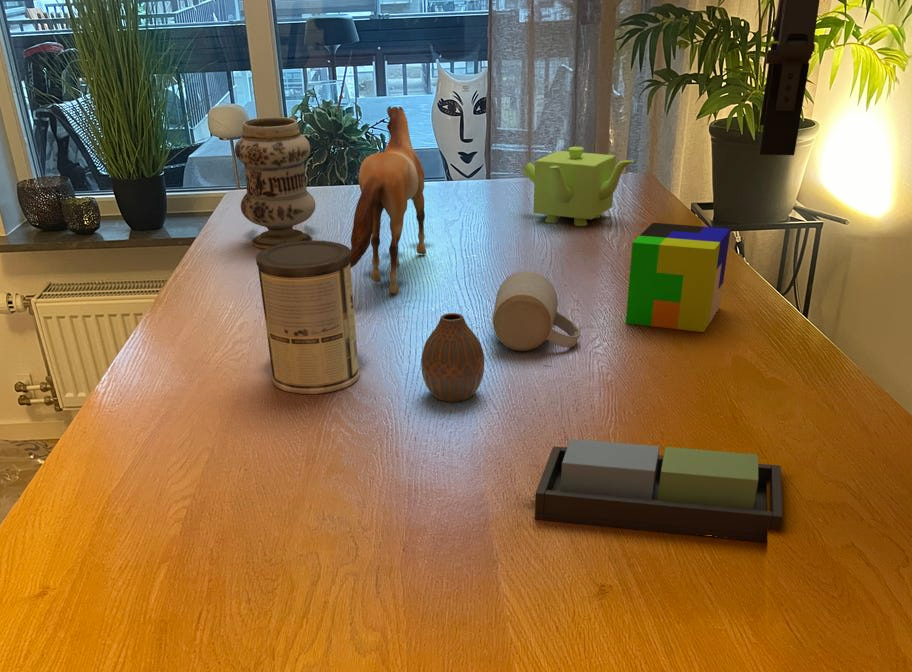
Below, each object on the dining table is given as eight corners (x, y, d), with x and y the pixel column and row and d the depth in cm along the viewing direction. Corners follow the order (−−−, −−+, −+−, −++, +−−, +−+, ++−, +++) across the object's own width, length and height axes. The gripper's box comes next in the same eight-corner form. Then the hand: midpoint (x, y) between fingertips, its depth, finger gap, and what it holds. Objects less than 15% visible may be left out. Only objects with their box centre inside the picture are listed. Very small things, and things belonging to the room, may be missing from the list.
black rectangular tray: (775, 491, 92) (781, 465, 90) (777, 544, 84) (782, 516, 83) (552, 470, 96) (553, 445, 95) (534, 519, 89) (535, 493, 87)
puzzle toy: (719, 307, 133) (730, 228, 127) (703, 332, 126) (714, 249, 120) (645, 300, 136) (652, 222, 130) (625, 323, 129) (632, 242, 123)
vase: (493, 387, 113) (494, 310, 108) (470, 411, 108) (469, 330, 103) (437, 379, 115) (435, 303, 110) (412, 402, 110) (408, 323, 105)
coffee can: (259, 372, 119) (242, 249, 111) (339, 355, 123) (329, 235, 114) (290, 401, 111) (274, 272, 103) (374, 383, 115) (366, 256, 107)
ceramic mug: (490, 353, 121) (492, 289, 117) (495, 330, 128) (497, 269, 123) (578, 357, 120) (583, 292, 116) (579, 333, 127) (584, 271, 122)
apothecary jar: (300, 254, 159) (287, 129, 149) (232, 250, 162) (215, 126, 152) (330, 234, 168) (320, 115, 158) (265, 230, 172) (251, 113, 161)
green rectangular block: (751, 495, 90) (758, 454, 87) (750, 522, 86) (758, 480, 84) (660, 486, 92) (665, 446, 89) (656, 512, 88) (660, 471, 85)
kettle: (629, 225, 168) (635, 152, 161) (550, 234, 165) (553, 160, 158) (593, 205, 180) (598, 136, 173) (519, 213, 177) (520, 143, 170)
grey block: (655, 486, 92) (659, 445, 89) (650, 512, 88) (655, 470, 85) (567, 478, 93) (570, 438, 91) (559, 503, 90) (561, 462, 87)
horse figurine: (396, 246, 162) (389, 102, 150) (443, 247, 160) (439, 102, 148) (337, 307, 137) (323, 142, 125) (392, 310, 136) (383, 143, 124)
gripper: (771, -164, 86) (734, 113, 98) (774, -181, 66) (728, 167, 79) (864, -168, 84) (814, 114, 97) (895, -187, 65) (828, 169, 77)
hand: (775, 139), depth 88 cm, fingers open, 13 cm apart
